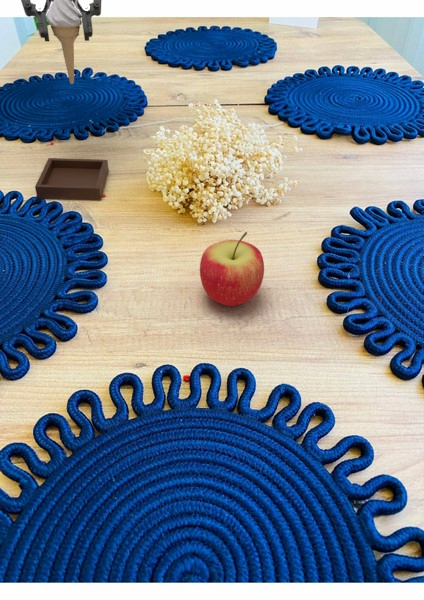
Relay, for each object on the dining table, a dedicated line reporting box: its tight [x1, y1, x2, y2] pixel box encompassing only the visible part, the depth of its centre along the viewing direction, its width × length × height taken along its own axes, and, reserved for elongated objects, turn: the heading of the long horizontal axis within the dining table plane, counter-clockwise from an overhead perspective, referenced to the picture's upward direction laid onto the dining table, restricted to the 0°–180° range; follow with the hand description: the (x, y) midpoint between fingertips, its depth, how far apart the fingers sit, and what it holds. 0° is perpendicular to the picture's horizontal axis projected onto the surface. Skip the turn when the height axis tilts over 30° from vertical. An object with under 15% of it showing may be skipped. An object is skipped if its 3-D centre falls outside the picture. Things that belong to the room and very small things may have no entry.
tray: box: [34, 157, 110, 201], centre depth 93 cm, size 11×11×2 cm
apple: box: [199, 231, 265, 307], centre depth 68 cm, size 8×8×10 cm
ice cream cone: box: [46, 0, 83, 85], centre depth 86 cm, size 6×6×15 cm
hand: (67, 38), depth 85 cm, fingers closed on ice cream cone, 5 cm apart
